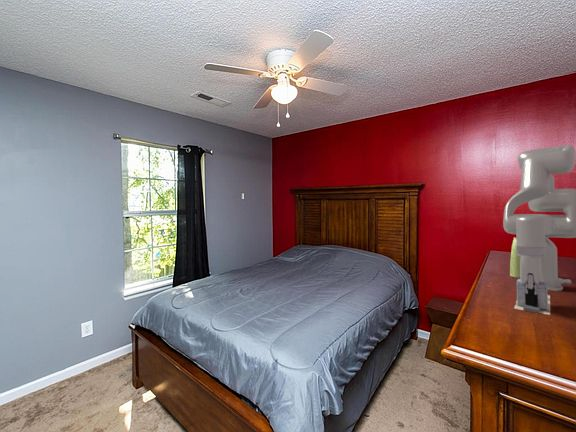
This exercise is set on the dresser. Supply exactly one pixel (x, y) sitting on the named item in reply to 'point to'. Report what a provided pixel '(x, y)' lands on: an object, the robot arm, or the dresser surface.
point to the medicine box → (541, 292)
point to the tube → (514, 261)
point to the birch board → (540, 309)
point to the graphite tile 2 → (531, 308)
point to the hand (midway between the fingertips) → (531, 302)
